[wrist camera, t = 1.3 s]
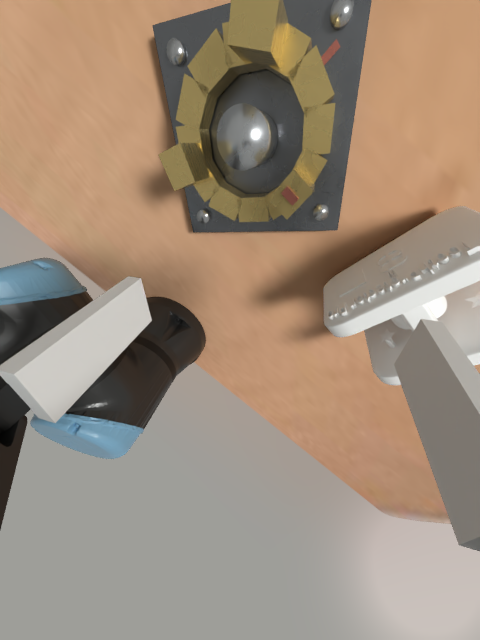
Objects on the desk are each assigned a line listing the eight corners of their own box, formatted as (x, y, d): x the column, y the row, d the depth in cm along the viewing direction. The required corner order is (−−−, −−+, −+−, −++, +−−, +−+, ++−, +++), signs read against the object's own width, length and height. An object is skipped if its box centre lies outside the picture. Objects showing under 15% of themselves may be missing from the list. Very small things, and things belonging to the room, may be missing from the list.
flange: (197, 229, 33) (173, 246, 27) (161, 31, 22) (109, -5, 17) (336, 226, 28) (340, 246, 22) (373, -28, 17) (397, -106, 12)
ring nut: (201, 218, 30) (176, 233, 24) (171, 47, 21) (124, 16, 16) (322, 214, 26) (322, 232, 21) (345, 3, 17) (355, -56, 12)
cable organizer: (361, 329, 35) (375, 393, 26) (320, 277, 32) (319, 329, 23) (493, 272, 26) (582, 339, 17) (453, 194, 23) (535, 226, 14)
